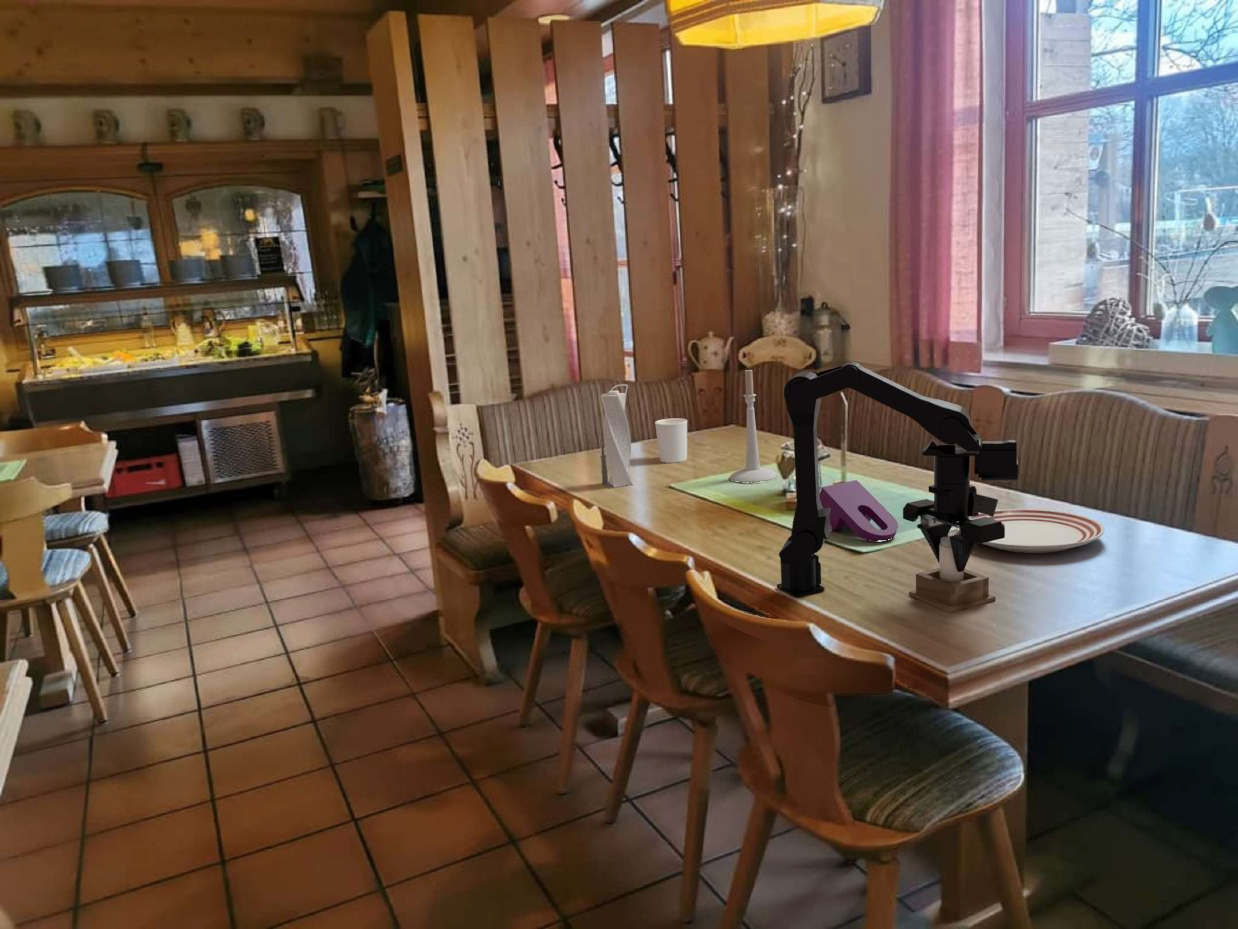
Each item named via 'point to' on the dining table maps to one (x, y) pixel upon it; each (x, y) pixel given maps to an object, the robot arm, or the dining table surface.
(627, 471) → the skyscraper
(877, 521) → the mounting bracket
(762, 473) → the candlestick
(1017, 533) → the dinner plate
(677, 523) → the dining table surface
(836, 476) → the dining table surface
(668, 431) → the white cup
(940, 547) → the salt shaker
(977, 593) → the box
